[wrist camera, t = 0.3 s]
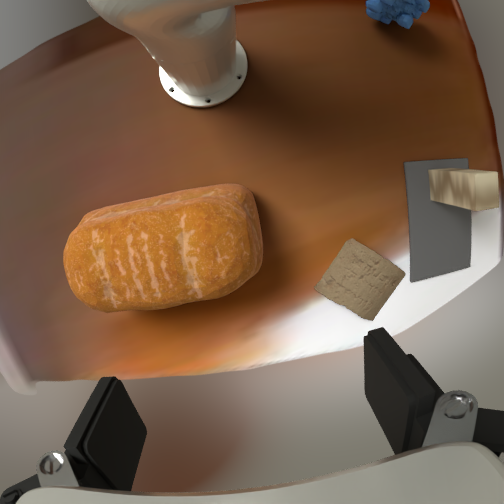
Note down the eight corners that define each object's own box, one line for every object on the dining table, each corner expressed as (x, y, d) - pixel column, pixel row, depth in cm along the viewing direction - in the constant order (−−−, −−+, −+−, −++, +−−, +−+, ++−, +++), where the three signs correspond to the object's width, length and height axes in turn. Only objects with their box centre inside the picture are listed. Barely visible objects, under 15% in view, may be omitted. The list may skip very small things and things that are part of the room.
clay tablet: (309, 286, 49) (313, 292, 47) (343, 231, 47) (349, 234, 45) (375, 321, 52) (381, 328, 49) (407, 273, 50) (415, 278, 47)
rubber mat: (403, 162, 44) (404, 162, 44) (466, 158, 44) (467, 158, 44) (410, 281, 49) (411, 282, 49) (468, 266, 49) (470, 266, 49)
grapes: (361, 43, 39) (394, 13, 28) (346, 8, 37) (373, -27, 26) (418, 40, 39) (457, 17, 27) (404, 7, 37) (438, -20, 25)
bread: (85, 210, 44) (30, 230, 30) (252, 176, 44) (258, 180, 30) (106, 291, 48) (64, 336, 33) (266, 267, 48) (277, 310, 33)
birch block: (428, 169, 44) (474, 173, 33) (450, 167, 44) (497, 172, 33) (430, 200, 46) (476, 211, 34) (452, 197, 46) (498, 207, 34)
